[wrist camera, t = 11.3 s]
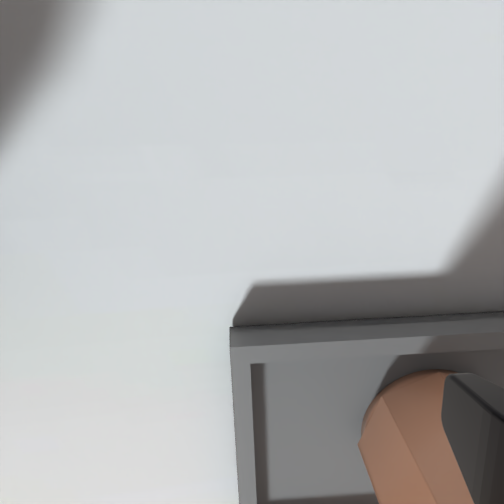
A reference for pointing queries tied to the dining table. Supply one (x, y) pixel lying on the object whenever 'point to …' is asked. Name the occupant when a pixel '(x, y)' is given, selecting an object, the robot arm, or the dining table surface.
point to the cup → (411, 444)
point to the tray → (336, 395)
